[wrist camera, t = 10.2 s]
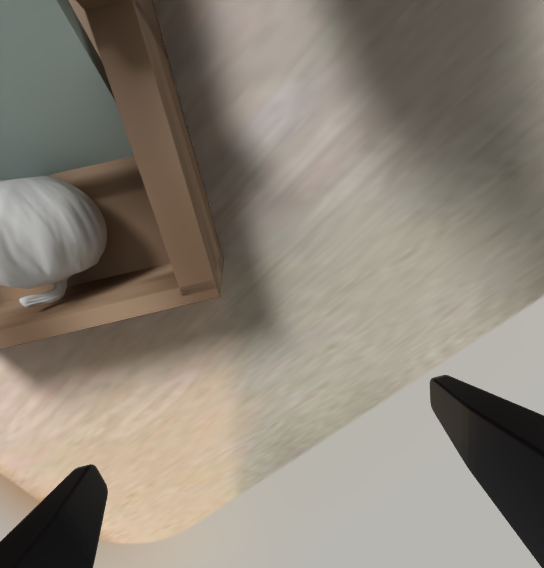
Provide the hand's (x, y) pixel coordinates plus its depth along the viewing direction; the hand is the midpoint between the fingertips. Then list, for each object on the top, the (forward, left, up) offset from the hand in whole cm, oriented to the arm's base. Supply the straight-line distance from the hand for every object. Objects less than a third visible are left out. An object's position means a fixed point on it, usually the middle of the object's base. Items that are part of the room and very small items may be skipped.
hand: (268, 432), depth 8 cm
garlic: (+9, -8, -8) cm, 14 cm away
